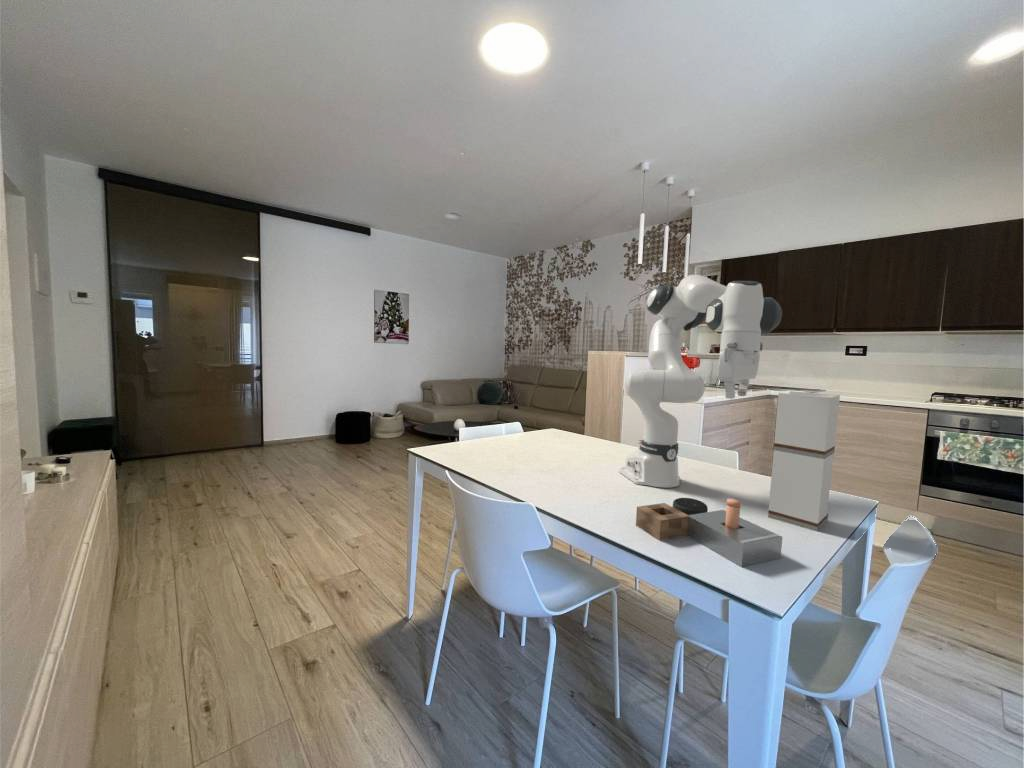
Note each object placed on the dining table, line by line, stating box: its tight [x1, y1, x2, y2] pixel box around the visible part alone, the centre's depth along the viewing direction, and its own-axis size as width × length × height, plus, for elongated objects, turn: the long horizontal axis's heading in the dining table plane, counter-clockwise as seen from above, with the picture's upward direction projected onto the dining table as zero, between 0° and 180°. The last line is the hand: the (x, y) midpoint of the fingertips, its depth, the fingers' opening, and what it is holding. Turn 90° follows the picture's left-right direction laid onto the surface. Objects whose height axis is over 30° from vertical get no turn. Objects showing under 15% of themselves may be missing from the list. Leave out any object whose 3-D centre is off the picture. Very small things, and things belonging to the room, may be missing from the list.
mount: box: [635, 502, 688, 541], centre depth 106 cm, size 9×9×5 cm
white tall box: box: [767, 390, 841, 532], centre depth 114 cm, size 11×11×35 cm
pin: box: [725, 498, 742, 530], centre depth 98 cm, size 3×3×11 cm
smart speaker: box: [672, 497, 709, 515], centre depth 115 cm, size 9×9×4 cm
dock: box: [686, 509, 783, 568], centre depth 98 cm, size 16×12×5 cm
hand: (736, 397), depth 108 cm, fingers open, 8 cm apart
